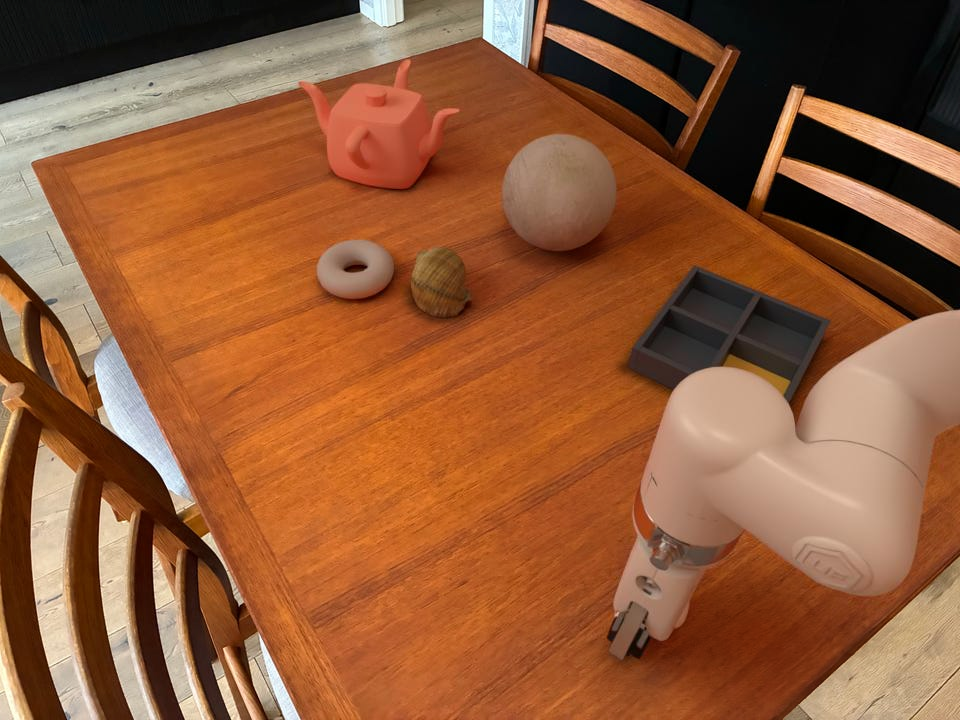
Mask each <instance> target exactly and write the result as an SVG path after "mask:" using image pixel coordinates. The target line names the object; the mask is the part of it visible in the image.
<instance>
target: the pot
mask: <svg viewBox="0 0 960 720" xmlns="http://www.w3.org/2000/svg"><path fill="white" fill-rule="evenodd" d="M411 63H412V61H411V59H404V60H403V61H402V62H401V63H400V64H399V66H398V68H397V72H396V76H395V80H394V83H393V86H391V85H384V84H375V83H363V82H361V83H355V84H353V85H352V86H351V87H350V88H348V89H347V90H346V91H345V93H343V95H342V96H341V97H340V98H339V99H338V101H337V102H336V103H335V105H333V107H332V108H331V106H330V104H329V102H328V100H327V98H326V97H325V94H324V93H323V92H322V90H321V89H320V88H319V87H318V86H316V85H315V84H313V83H311V82H308V81H303V80H300V81H297V84H298V86H299V87H301V88H302V89H303V90H304V92H306V93H307V94H308V95H309V97H310V99H311V100H312V102H313V105H314V110H315V113H316V117H317V122H318V125H319V127H320V129H321V131H322V133H323V134H324V136H325V137H326V152H327V154H326V155H327V161H328V164H329V166H330V168H331V169H332V171H333V172H334V174H335V175H336V176H338V177H340V178H342V179H345V180H348V181H351V182H354V183H356V184H357V183H359V184H361V185H366V186H371V187H377V188H384V189H394V190H404V189H405V190H406V189H409V188H411V187H412V186H413V185H414V184H415V183H416V181H417V180H418V179H419V177H420V176H421V175H422V173H423V171H424V170H425V168H426V167H427V165H428V163H429V161H430V159H431V158H433V156H434V155H436V153H438V151H439V149H440V148H441V145H442V143H443V137H444V131H445V125H446V123H447V120H448V119H449V118H450V117H452V116H453V115H457V114H458V113H459V112H460V109H459V108H452V107H450V108H449V107H447V108H443V109H440V110H439V111H438V112H437V113H436V114H435V115H434V117H433V120H432V119H431V116H430V113H429V110H428V106H427V103H426V101H425V99H424V96H423V95H422V94H420V93H418V92H415V91H412V90H410V89H409V88H410V87H409V73H410V68H411Z"/></svg>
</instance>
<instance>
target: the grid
mask: <svg viewBox="0 0 960 720" xmlns="http://www.w3.org/2000/svg"><path fill="white" fill-rule="evenodd" d="M831 323H832V320H830V319H828V318H826V317H823V316H821V315H819V314H815V313H814V312H810V311H809V310H806V309H804V308H801V307H799V306H796V305H794V304H792V303H789V302H787V301H784V300H781V299H779V298H776V297H774V296H771V295H769V294H767V293H764V292H763V291H762V292H761V291H759V290H756V289H754V288H752V287H749V286H747V285H744V284H742V283H739V282H737V281H734V280H731V279H729V278H727V277H725V276H722V275H719V274H717V273H714V272H713V271H710V270H707V269H706V268H702V267H700V266H697V265H695V264H693V266H692V267H691V268H690V269H689V271H688V273H687V274H686V275H685V276H684V278H683V279H682V280H681V282H680V283H679V284H678V286H677V287H676V289H675V290H674V291H673V293H672V294H671V295H670V296H669V298H667V301H666V302H665V303H664V305H662V307H661V309H660V310H659V311H658V313H657V314H656V315H655V317H654V318H653V319H652V321H651V322H650V323H649V325H648V326H647V328H646V329H645V330H644V332H643V333H642V334H641V335H640V337H639V338H638V340H637V341H636V342H635V344H634V345H633V346H632V349H631V353H630V357H629V360H628V365H627V368H628V369H629V370H632V371H633V372H636V373H638V374H640V375H641V376H644V377H646V378H648V379H650V380H652V381H654V382H656V383H658V384H660V385H663V386H665V387H667V388H669V389H671V390H674V389H675V388H676V387H677V385H678V384H679V383H680V382H681V381H682V380H684V379H685V378H686V377H688V376H689V375H691V374H693V373H695V372H697V371H699V370H703V369H706V368H711V367H733V368H738V369H742V370H745V371H748V372H751V373H754V374H756V375H758V376H760V377H762V378H763V379H765V380H766V381H768V382H769V383H771V384H772V385H773V386H774V387H775V388H777V390H778V391H779V392H780V393H781V394H782V395H783V396H784V398H785V399H786V401H787V402H788V404H789V405H790V402H791V401H792V398H793V396H794V395H795V393H796V390H797V388H798V387H799V385H800V383H801V381H802V379H803V377H804V375H805V374H806V371H807V369H808V367H809V366H810V363H811V361H812V359H813V358H814V355H815V353H816V352H817V349H818V348H819V346H820V343H821V342H822V340H823V339H824V335H825V334H826V332H827V330H828V328H829V326H830V324H831Z"/></svg>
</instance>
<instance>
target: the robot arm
mask: <svg viewBox="0 0 960 720" xmlns="http://www.w3.org/2000/svg"><path fill="white" fill-rule="evenodd" d="M672 390H673V389H672ZM959 425H960V309H954V310H953V309H952V310H947V311H941V312H937V313H933V314H930V315H926V316H923V317H920V318H917V319H915V320H913V321H910V322H908V323H906V324H904V325H901V326H900V327H898V328H896V329H894V330H892V331H891V332H889V333H887V334H885V335H884V336H881V337H880V338H878V339H876V340H874V341H873V342H871V343H869V344H868V345H866V346H864V347H862V348H861V349H859V350H857V351H856V352H854V353H853V354H851V355H849V356H847V357H846V358H844V359H843V360H842V361H840V362H839V363H837V364H836V365H834V366H833V367H831V369H829V370H828V371H827V372H825V374H824V375H823V376H822V377H821V378H820V379H819V380H818V381H817V382H816V383H814V385H813V387H812V388H811V389H810V391H809V393H808V394H807V396H806V398H805V400H804V402H803V406H802V408H801V411H800V413H799V416H798V419H797V421H796V422H795V417H794V413H793V411H792V408H791V405H790V403H789V404H788V402H787V401H786V399H785V398H784V396H783V395H782V394H781V393H780V392H779V391H778V390H777V388H775V387H774V386H773V385H772V384H771V383H769V382H768V381H766V380H765V379H763V378H762V377H760V376H758V375H756V374H754V373H751V372H748V371H745V370H742V369H738V368H733V367H711V368H706V369H703V370H699V371H697V372H695V373H693V374H691V375H689V376H688V377H686V378H685V379H684V380H682V381H681V382H680V383H679V384H678V385H677V387H676V388H675V389H674V390H673V391H672V392H671V393H670V396H669V398H668V400H667V403H666V405H665V407H664V410H663V413H662V417H661V420H660V423H659V426H658V429H657V432H656V435H655V439H654V441H653V445H652V447H651V451H650V454H649V457H648V460H647V463H646V465H645V468H644V471H643V475H642V478H641V480H640V483H639V486H638V489H637V492H636V495H635V498H634V501H633V506H632V511H631V517H632V524H633V528H634V530H635V532H636V535H637V536H636V539H635V541H634V543H633V546H632V549H631V550H630V552H629V556H628V559H627V561H626V563H625V567H624V569H623V571H622V574H621V577H620V580H619V583H618V585H617V588H616V590H615V594H614V597H613V601H612V607H613V610H614V614H615V613H616V614H617V612H619V614H618V616H616V617H615V616H614V617H615V618H614V617H613V620H612V622H611V625H610V628H609V630H608V633H607V636H606V639H607V640H608V641H609V642H610V643H611V645H610V646H609V648H608V651H607V652H608V653H609V654H610V655H611V656H614V657H616V659H618V660H619V661H621V662H622V661H623V660H624V659H625V657H628V658H629V657H631V656H632V657H633V658H635V659H637V660H641V659H642V657H643V655H644V652H645V650H646V649H647V647H648V645H649V642H650V640H651V639H652V638H653V639H655V640H657V641H658V642H663V641H666V640H668V639H670V638H669V637H670V636H671V634H672V632H673V631H674V629H675V628H674V627H675V625H676V624H677V622H678V620H679V618H680V616H681V614H682V613H683V611H684V609H685V607H686V605H687V604H688V602H689V603H690V600H691V598H692V596H693V595H694V593H695V591H696V589H697V588H698V585H699V583H700V582H701V580H702V579H703V577H704V575H705V573H706V571H707V569H709V568H713V567H714V566H717V565H719V564H721V563H722V562H724V561H725V560H727V558H728V557H729V556H730V555H731V553H732V552H733V551H734V548H735V547H736V545H737V544H738V543H739V540H740V539H741V537H742V535H743V534H744V532H745V531H746V532H748V533H749V534H750V535H751V536H752V537H754V538H755V539H756V540H758V541H759V542H760V543H762V544H763V545H765V546H766V547H767V548H768V549H770V550H771V552H774V554H776V555H777V556H779V557H780V558H782V559H783V560H784V561H786V562H787V563H789V564H790V565H791V566H793V567H794V568H796V570H799V571H800V572H802V573H803V574H805V575H806V576H807V577H809V578H810V579H811V580H813V581H814V582H815V583H817V584H820V585H822V586H823V587H826V588H828V589H831V590H834V591H838V592H842V593H845V594H848V595H854V596H859V597H875V596H882V595H885V594H887V593H890V592H892V591H894V590H895V589H896V588H897V587H899V586H900V585H901V584H902V583H903V582H904V581H905V579H906V578H907V576H908V575H909V573H910V570H911V569H912V565H913V562H914V559H915V555H916V551H917V545H918V540H919V533H920V527H921V520H922V514H923V508H924V501H925V495H926V489H927V483H928V478H929V471H930V467H931V459H932V454H933V450H934V445H935V444H934V443H935V440H936V439H935V438H936V437H937V436H939V435H940V434H942V433H944V432H946V431H948V430H950V429H952V428H954V427H957V426H959ZM642 623H643V624H644V625H646V626H645V628H644V630H643V629H641V628H640V626H641V624H642Z"/></svg>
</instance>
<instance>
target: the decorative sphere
mask: <svg viewBox="0 0 960 720" xmlns="http://www.w3.org/2000/svg"><path fill="white" fill-rule="evenodd" d="M617 193H618V191H617V180H616V176H615V172H614V169H613V167H612V166H611V163H610V161H609V159H608V158H607V157H606V155H605V154H604V153H603V152H602V151H601V149H600V148H599V147H597V146H596V145H595V144H594V143H592V142H591V141H589V140H587V139H585V138H583V137H580V136H578V135H575V134H569V133H552V134H548V135H547V134H546V135H544V136H541V137H538V138H536V139H534V140H532V141H530V142H528V143H527V144H526V145H525V146H523V147H522V148H521V149H520V150H519V151H518V152H517V153H516V154H515V155H514V157H513V158H512V160H511V161H510V162H509V164H508V166H507V168H506V171H505V174H504V177H503V180H502V184H501V202H502V208H503V211H504V214H505V217H506V220H507V221H508V223H509V224H510V227H511V228H512V229H513V231H514V232H515V233H516V234H517V236H519V237H520V238H521V239H522V240H524V241H525V242H527V243H528V244H530V245H532V246H534V247H536V248H538V249H542V250H544V251H545V250H546V251H550V252H564V251H565V252H566V251H570V250H574V249H576V248H577V249H578V248H580V247H582V246H585V245H586V244H588V243H590V242H591V241H593V239H595V238H596V237H598V236H599V234H600V233H602V232H603V230H604V229H605V227H606V226H607V225H608V223H609V222H610V219H611V218H612V215H613V212H614V210H615V207H616V203H617Z"/></svg>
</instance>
